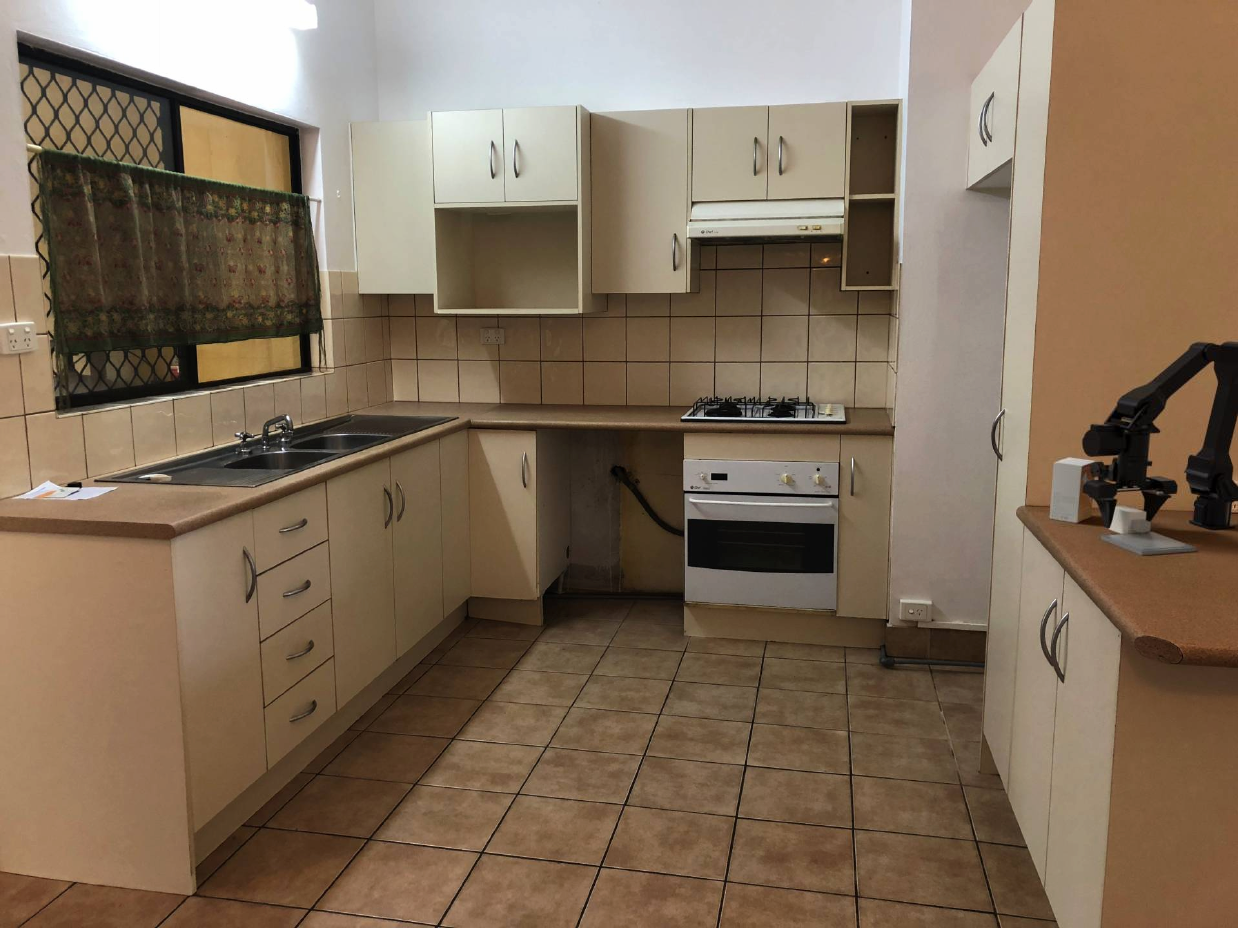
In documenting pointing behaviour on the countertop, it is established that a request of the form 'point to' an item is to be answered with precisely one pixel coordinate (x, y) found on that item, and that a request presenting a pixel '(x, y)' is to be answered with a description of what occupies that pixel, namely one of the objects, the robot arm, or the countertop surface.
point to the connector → (1129, 520)
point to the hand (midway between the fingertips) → (1126, 526)
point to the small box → (1071, 490)
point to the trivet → (1147, 543)
